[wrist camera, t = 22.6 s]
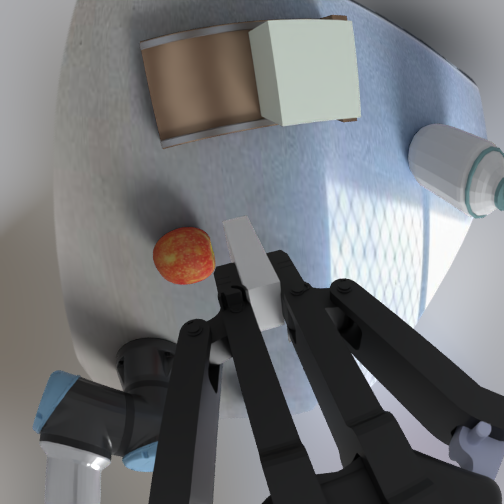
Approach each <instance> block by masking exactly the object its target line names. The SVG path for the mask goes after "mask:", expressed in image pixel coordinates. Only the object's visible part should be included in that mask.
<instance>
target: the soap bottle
mask: <svg viewBox="0 0 504 504" xmlns="http://www.w3.org/2000/svg"><path fill="white" fill-rule="evenodd" d="M408 161H409V167H410V170H411V172H412V174H413V175H414V177H415V179H416V180H417V182H418V183H419V184H420V185H421V186H422V187H424V188H426V189H427V190H429V191H431V192H432V193H434V194H435V195H437V196H439V197H440V198H442V199H443V200H445V201H446V202H448V203H449V204H451V205H452V206H454V207H455V208H457V209H458V210H460V211H461V212H463V213H464V214H466V215H467V216H470V217H474V218H483V217H485V216H486V215H488V214H490V213H491V212H492V211H494V210H495V209H497V208H498V209H499V210H501V211H502V210H504V153H503V152H502V151H501V150H500V148H497V146H496V145H495V144H494V143H492V142H490V141H488V140H486V139H483V138H481V137H478V136H476V135H473V134H471V133H468V132H466V131H463V130H460V129H457V128H455V127H452V126H449V125H444V124H436V123H434V124H430V125H427V126H425V127H422V128H421V129H420V130H419V131H418V132H417V133H416V134H415V135H414V138H413V140H412V142H411V144H410V147H409V155H408Z"/></svg>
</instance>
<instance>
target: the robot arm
mask: <svg viewBox="0 0 504 504" xmlns="http://www.w3.org/2000/svg"><path fill="white" fill-rule="evenodd" d="M222 222H223V226H224V231H225V236H226V240H227V245H228V249H229V254H230V258H231V261H232V263H229V264H225V265H221V266H217V267H216V269H215V271H214V277H215V282H216V286H217V290H218V300H219V304H220V307H221V308H220V311H219V313H218V314H217V315H216V316H215V317H214V318H212V319H211V320H209V321H207V322H206V321H205V320H202V319H193V320H190V321H188V322H186V323H185V324H184V325H183V326H182V327H181V330H180V333H179V337H178V342H177V345H176V344H174V343H172V342H169V341H166V340H162V339H156V338H144V339H138V340H134V341H131V342H129V343H127V344H125V345H124V346H123V347H122V348H121V349H120V350H119V352H118V354H117V360H116V369H117V373H118V376H119V379H120V382H121V385H122V388H123V391H120V390H117V389H114V388H110V387H107V386H104V385H102V384H99V383H96V382H93V381H90V380H87V379H85V378H82V377H80V375H77V376H76V375H73V374H70V373H67V372H64V371H61V370H58V371H55V372H53V373H52V374H51V375H50V378H49V380H48V383H47V385H46V388H45V390H44V393H43V396H42V399H41V402H40V405H39V408H38V411H37V414H36V417H35V420H34V424H33V430H34V431H36V433H38V434H41V435H40V442H39V444H40V446H41V447H42V449H43V450H44V452H45V453H46V455H47V467H46V481H45V504H100V495H101V494H100V493H101V492H100V491H101V489H100V488H101V471H102V470H103V469H104V468H105V467H107V466H108V465H109V464H111V454H112V455H116V456H121V457H123V458H122V459H123V460H122V461H123V463H124V465H125V466H126V467H127V468H129V469H131V470H135V471H142V472H153V477H152V483H151V489H150V497H149V504H213V491H214V476H215V461H216V446H217V432H218V419H219V405H220V393H221V380H222V368H223V362H225V361H226V360H228V359H230V358H232V357H233V360H234V364H235V368H236V371H237V375H238V379H239V383H240V387H241V391H242V394H243V398H244V402H245V405H246V409H247V413H248V416H249V420H250V424H251V427H252V431H253V434H254V437H255V441H256V445H257V448H258V452H259V456H260V461H261V464H262V468H263V471H264V475H265V478H266V481H267V485H268V488H269V491H270V494H271V495H270V496H269V497H268V498H266V500H265V501H264V502H263V503H262V504H502V495H501V491H500V488H499V486H498V485H497V484H496V482H495V481H494V480H495V477H496V475H497V472H498V470H499V467H500V465H501V462H502V459H503V456H504V396H502V395H499V394H497V393H495V392H492V391H490V390H488V389H485V388H483V387H480V386H479V385H478V384H477V383H476V382H475V381H474V380H472V378H470V377H469V376H468V375H467V374H466V373H465V372H464V371H462V370H461V369H460V368H459V367H458V366H457V365H455V364H454V363H453V362H452V361H451V360H450V359H448V358H447V357H446V356H445V355H444V354H443V353H442V352H440V351H439V350H438V349H437V348H436V347H434V346H433V345H432V344H431V343H430V342H429V341H427V340H426V339H425V338H424V337H423V336H421V335H420V334H419V333H418V332H416V331H415V330H414V329H413V328H412V327H411V326H409V325H408V324H407V323H406V322H404V321H403V320H402V319H401V318H400V317H398V316H397V315H396V314H395V313H393V312H392V311H391V310H390V309H388V308H387V307H386V306H385V305H384V304H382V303H381V302H380V301H379V300H377V299H376V298H375V297H374V296H372V295H371V294H370V293H369V292H367V291H366V290H365V289H363V288H362V287H361V286H360V285H358V284H357V283H356V282H354V281H352V280H350V279H346V278H345V279H338V280H335V281H334V282H333V283H332V284H331V286H330V288H313V287H312V286H311V285H310V284H309V283H306V282H304V281H303V279H302V277H301V276H300V274H299V272H298V271H297V269H296V267H295V266H294V264H293V262H292V261H291V259H290V257H289V256H288V254H287V253H285V252H283V251H282V250H278V251H274V252H270V253H265V251H264V249H263V247H262V245H261V243H260V241H259V239H258V237H257V235H256V233H255V231H254V229H253V227H252V225H251V223H250V221H249V219H248V217H247V216H242V217H238V218H234V219H230V220H226V221H222ZM284 319H285V321H286V324H287V330H288V340H289V342H291V341H292V343H293V345H294V348H295V350H296V352H297V355H298V357H299V359H300V362H301V364H302V366H303V369H304V371H305V373H306V376H307V378H308V380H309V382H310V385H311V387H312V389H313V392H314V394H315V396H316V399H317V401H318V403H319V405H320V408H321V410H322V412H323V415H324V417H325V419H326V422H327V424H328V426H329V429H330V431H331V433H332V436H333V438H334V440H335V442H336V445H337V447H338V450H339V454H340V459H341V463H342V466H343V469H342V470H340V471H338V472H332V473H324V474H315V472H314V469H313V466H312V464H311V461H310V459H309V456H308V454H307V451H306V449H305V447H304V445H303V444H302V442H301V440H300V438H299V435H298V432H297V430H296V427H295V424H294V422H293V419H292V416H291V414H290V411H289V408H288V406H287V403H286V400H285V397H284V395H283V392H282V389H281V387H280V384H279V381H278V378H277V376H276V373H275V370H274V367H273V365H272V362H271V359H270V356H269V353H268V351H267V348H266V345H265V342H264V339H263V337H262V334H261V331H263V330H267V329H271V328H274V327H278V326H281V325H285V323H284ZM351 353H352V354H353V355H354V356H355V357H356V359H357V360H358V361H359V362H360V363H361V364H362V365H363V366H364V367H365V368H366V369H367V370H368V371H369V372H370V373H371V374H372V375H373V376H374V377H375V378H376V379H377V380H378V381H379V382H380V383H381V384H382V385H383V386H384V387H385V388H386V389H387V390H388V391H389V392H390V393H391V394H392V395H393V396H394V397H395V398H396V399H397V400H398V401H399V402H400V403H401V404H402V405H403V406H404V407H405V408H406V409H407V410H408V411H409V412H410V413H411V414H412V415H413V416H414V417H415V418H416V419H417V420H418V421H419V422H420V423H421V424H422V425H423V426H424V427H425V428H426V429H427V430H428V431H429V432H430V433H431V434H432V435H433V436H435V437H436V438H437V439H439V440H440V441H442V442H443V443H445V444H447V445H449V457H450V459H451V460H453V461H456V462H457V463H458V464H459V465H460V467H461V468H460V467H457V466H454V465H452V464H449V463H446V462H444V461H441V460H438V459H436V458H433V457H431V456H428V455H426V454H423V453H421V452H418V451H416V450H413V449H412V448H411V446H410V444H409V442H408V440H407V439H406V437H405V435H404V433H403V431H402V430H401V428H400V426H399V424H398V422H397V420H396V419H395V417H394V416H393V414H391V413H390V412H388V411H384V410H383V409H382V407H381V406H380V404H379V402H378V400H377V398H376V396H375V395H374V393H373V391H372V389H371V387H370V386H369V384H368V382H367V380H366V379H365V377H364V375H363V373H362V371H361V370H360V368H359V366H358V364H357V363H356V361H355V359H354V357H353V356H352V354H351Z"/></svg>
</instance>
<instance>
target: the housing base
mask: <svg viewBox="0 0 504 504" xmlns="http://www.w3.org/2000/svg"><path fill="white" fill-rule="evenodd" d="M274 20H294V19H274ZM320 20H344V21H347V16H342V15H330V16H327V17H324V18H320ZM266 21H270V20H259V21H248V22H238V23H230V24H222V25H215V26H209V27H203V28H197V29H192V30H186V31H181V32H177V33H172V34H168V35H163V36H159V37H155V38H151V39H148V40H144V41H140V43H139V44H140V49H141V51H142V57H143V62H144V67H145V72H146V77H147V82H148V86H149V91H150V96H151V100H152V105H153V109H154V114H155V118H156V123H157V127H158V131H159V135H160V139H161V146H162V148H163V149H165V148H169V147H173V146H177V145H181V144H185V143H189V142H193V141H197V140H202V139H206V138H210V137H215V136H220V135H225V134H229V133H234V132H240V131H245V130H250V129H256V128H262V127H267V126H274V125H279V124H277V123H275V122H273V121H271V120H268V119H266V118H264V117H262V116H261V111H260V104H259V97H258V90H257V84H256V77H255V71H254V64H253V58H252V52H251V45H250V39H249V33H248V32H250V31H251V30H253V29H255V28H256V27H258V26H259V25H261V24H263V23H265V22H266ZM337 120H338V121H341V122H351V121H357V118H347V119H337Z"/></svg>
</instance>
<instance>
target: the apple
mask: <svg viewBox="0 0 504 504" xmlns="http://www.w3.org/2000/svg"><path fill="white" fill-rule="evenodd" d="M153 260H154V263H155V266H156V268H157V270H158V271H159V272H160V274H161V275H162V276H163V277H164V278H165V279H166V280H168V281H170V282H172V283H175V284H192V283H196V282H199V281H202V280H204V279H206V278H207V277H208V276H210V275H211V273H212V272H213V271H214V269H215V257H214V252H213V250H212V246H211V242H210V237H209V236H208V234H207V233H206V232H205V231H203V230H201V229H198V228H194V227H182V228H178V229H175V230H173V231H170V232H168V233H167V234H165V235H164V236H163V237H161V238H160V239H159V240H158V242H157V243H156V245H155V247H154V250H153Z"/></svg>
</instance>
